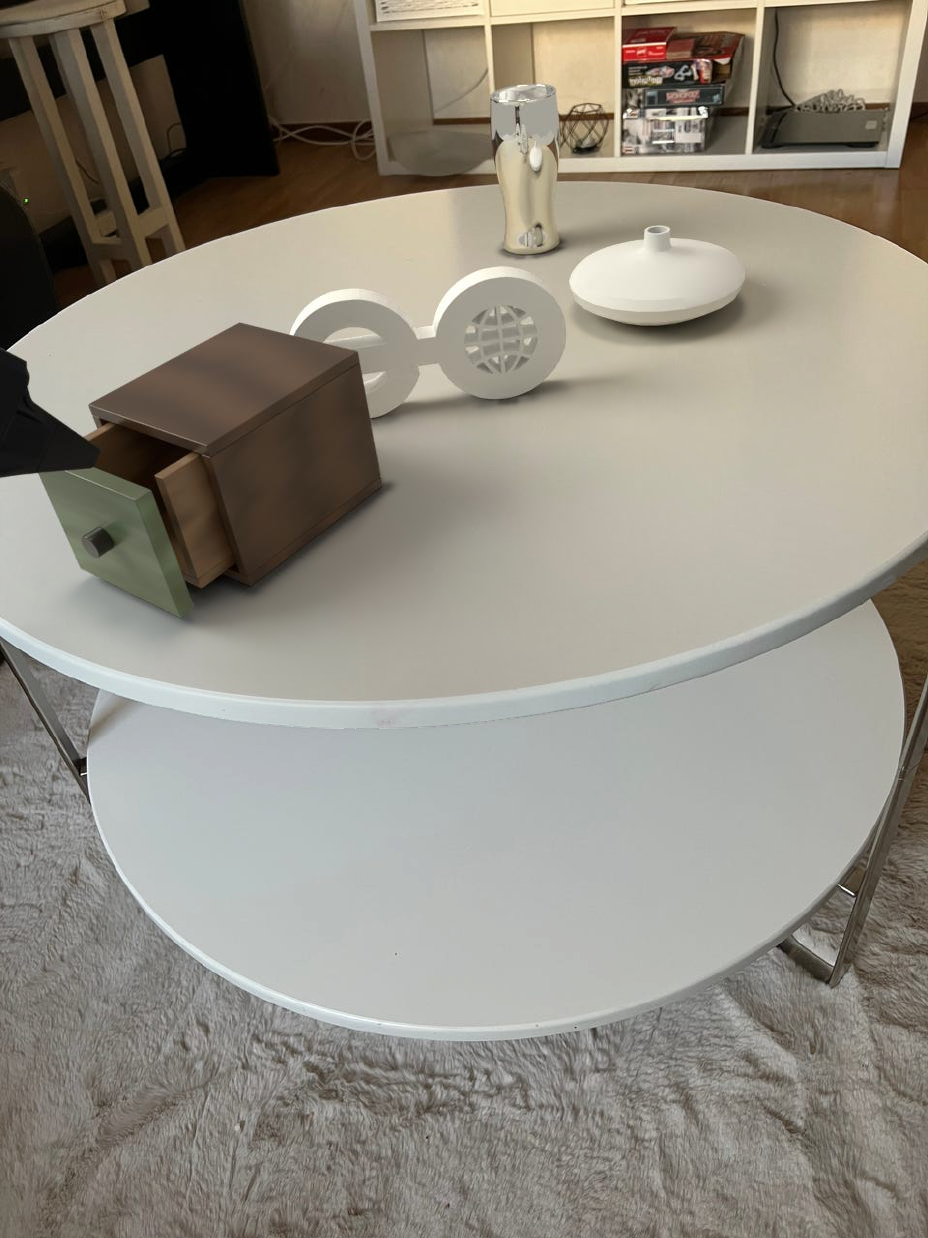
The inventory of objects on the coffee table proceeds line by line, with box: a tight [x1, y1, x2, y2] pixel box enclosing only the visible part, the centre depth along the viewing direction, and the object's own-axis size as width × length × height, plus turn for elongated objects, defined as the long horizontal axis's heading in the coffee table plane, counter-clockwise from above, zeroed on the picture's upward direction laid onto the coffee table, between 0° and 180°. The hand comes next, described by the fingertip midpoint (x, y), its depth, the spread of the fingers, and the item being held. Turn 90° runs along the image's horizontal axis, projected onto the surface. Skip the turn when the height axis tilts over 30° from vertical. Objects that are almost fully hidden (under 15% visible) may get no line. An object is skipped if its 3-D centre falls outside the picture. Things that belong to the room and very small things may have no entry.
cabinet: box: [87, 322, 383, 587], centre depth 68 cm, size 14×12×11 cm
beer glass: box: [489, 83, 561, 256], centre depth 101 cm, size 7×7×15 cm
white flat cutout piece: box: [289, 265, 567, 419], centre depth 78 cm, size 22×2×10 cm, turn 97°
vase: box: [568, 225, 746, 326], centre depth 88 cm, size 16×16×7 cm
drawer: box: [37, 422, 236, 618], centre depth 64 cm, size 14×10×9 cm
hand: (54, 433), depth 53 cm, fingers open, 9 cm apart
